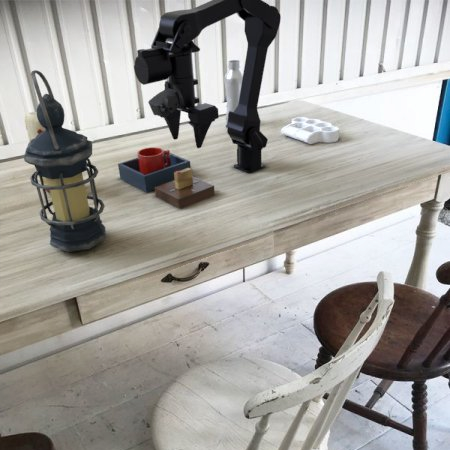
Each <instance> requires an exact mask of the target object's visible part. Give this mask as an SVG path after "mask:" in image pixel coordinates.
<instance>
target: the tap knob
mask: <svg viewBox="0 0 450 450" xmlns="http://www.w3.org/2000/svg"><path fill="white" fill-rule="evenodd" d="M192 176H193V169H192V168H191V169H190V168H186V169H183V170H181V171H175V173H174V178H175V188H176V189H178V190H179V189H182V188H185V187H187V186H190V185H193V177H194V176H193V177H192Z"/></svg>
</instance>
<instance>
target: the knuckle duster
mask: <svg viewBox="0 0 450 450" xmlns="http://www.w3.org/2000/svg"><path fill="white" fill-rule="evenodd" d="M280 134H281V135H284V136H286V137H289V138H292V139H295V140H298V141H301V142H303V143H306V144H308V145H313V144H316V143H324V144H325V143H327V144H329V143H330V144H331V143H336V142H338V141H339V137H340V128H339V126H334V125H333V124H332V123H331V122H328V121H324V120H322V119H318V118H308V117H306V116H298V117H293V118H292V119H291V123H289V124H287V125H284V126H283V127H282V128H281V130H280Z"/></svg>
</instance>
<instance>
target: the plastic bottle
mask: <svg viewBox="0 0 450 450" xmlns="http://www.w3.org/2000/svg"><path fill="white" fill-rule="evenodd" d="M227 63H228V66H227V68H228V70H227V72H226V73H225V75H224V79H223V80H224V86H225V93H226V112H225V121H226V123H227V122H228V113H229V111H232V112H234V110H235V109H236V107H237V106H238V103H239V97H240V91H241V85H242V79H243V73H244V72H242V70H241V69H240V68H241V67H242V66H241V60H239V59H231V60H229V61H228V62H227Z"/></svg>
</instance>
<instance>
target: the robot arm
mask: <svg viewBox="0 0 450 450" xmlns="http://www.w3.org/2000/svg"><path fill="white" fill-rule="evenodd" d="M233 15H237V16H238V17H239V18H240V19H241V20H243V22H244V35H245V39H246V41H247V49H246V55H245V61H244V67H243V72H242V73H243V79H242V85H241V91H240V97H239V103H238V106H237V107H236V109H235V110H234V112H232V111H229V113H228V122H226V125H225V127H226V128H227V130H226V131H227V132H226V133H227V135H228V137H229V138H230V139H231V142H232V144H234V145H237V148H236V164H234V165H233V168H234V169H237V170H240V171H243V172H245V173H248V174H251V173H253V172H256V171H258V170H261V169H264V168H266V164H264V163H262V150H263V149H264V148H267V144H268V140H269V139H268V137H266V136H265V134H263V133H262V132H261V118H260V114H259V111H258V104H259V99H260V95H261V94H260V93H261V88H262V84H263V78H264V72H265V67H266V60H267V56H268V55H267V54H268V49H269V47H270V45H271V44H272V43H273V41H274V40H275V39H276V37H277V35H278V31H279V28H280V24H281V18H282V17H281V13H280V11H279V9H278V8H277V7H276V6H274V5H270V4H269V3H268V2H266V1H264V0H210V1H206V2H205V3H202V4H200V5H198V6H196V7H194V8H189V9H179V10H173V11H169V12H165V13H163V14H162V15H161V16H160V21H159V24H158V28H157V31H156V34H155V36H154V39H153V41H152V43H151V45H150V48H146V49H145V48H141V49H138V50H137V51H136V52H137V53H136V54H137V56H136V57H135V60H134V65H133V70H134V75H135V77H136V79H137V80H138V82H139V83H140V84H141V85H143V86H145V85H150V84H153V83H158V82H163V81H164V89H163V90H162V91H160V92H158V93H157V94H155V95H154V96H153V97H152V98H150V99H149V100H148V105H149V107H150V109H151V111H152V114H153V115H154V116H158V117H160V118H162V119H164V121H165V122H166V125H167V127H168V130H169V132H170V134H171V137H172V139H173V140H178V139H179V134H180V124H181V113H182V112H184V113H186V114H187V118H188V120H189V121H188V125H190V126H191V127H192V129H193V135H194V141H195V146H196V148H197V149H201V148H202V146H203V144H204V141H205V139H206V136H207V134H208V131H209V129H210V128H211V126H212V123H213V122H215V121H216V120H217V119H219V118H220V117H219V108H218V107H217V106H216V105H214V104H210V103H207V102H204V103H200V97H197V96H196V88H195V86H196V85H199V80H198V79H197V78H194V77H195V75H194V64H193V62H194V61H193V53H199V52H200V51H201V48H200V47H199V46H198V45H197V44H195V43H194V41H195V40H196V39H197V38H198V37H199V36H200V34H201V33H202V32H203V30H205V29H206V28H208V27H210V26H211V25H214V24H216V23H218V22H221V21H223V20H224V19H226V18H229V17H231V16H233ZM199 103H200V104H199ZM196 104H198V105H196Z"/></svg>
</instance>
